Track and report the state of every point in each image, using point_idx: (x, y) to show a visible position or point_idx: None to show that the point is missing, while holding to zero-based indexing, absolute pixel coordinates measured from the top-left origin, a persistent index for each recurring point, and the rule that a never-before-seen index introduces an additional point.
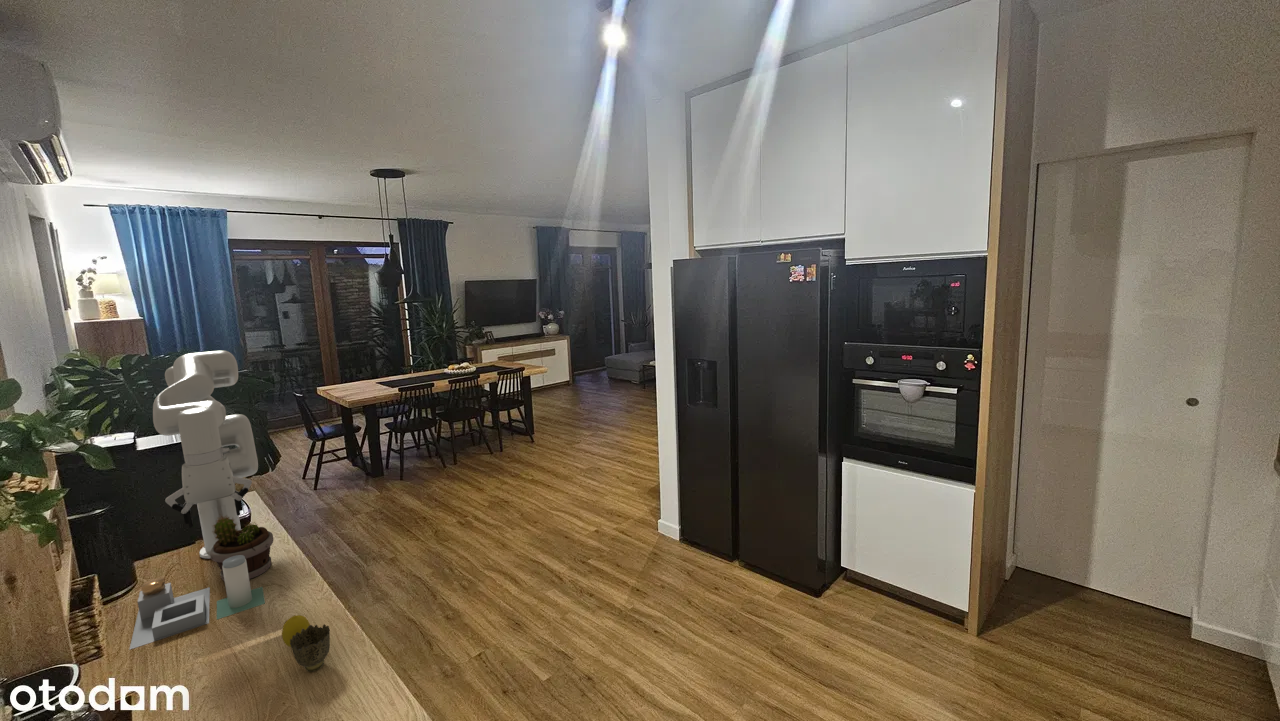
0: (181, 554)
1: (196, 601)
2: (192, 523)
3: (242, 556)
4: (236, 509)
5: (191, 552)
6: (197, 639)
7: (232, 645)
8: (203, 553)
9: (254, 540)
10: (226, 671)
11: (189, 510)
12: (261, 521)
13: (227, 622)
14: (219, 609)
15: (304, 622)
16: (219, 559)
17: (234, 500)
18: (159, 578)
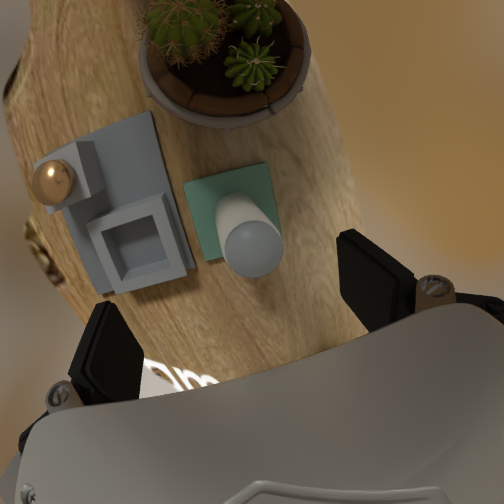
0: None
1: (156, 224)
2: (139, 360)
3: (276, 239)
4: (361, 319)
5: None
6: (188, 294)
7: (248, 327)
8: None
9: (279, 88)
10: (253, 370)
11: (102, 394)
12: None
13: (223, 262)
14: (199, 225)
15: None
16: (175, 115)
17: (389, 322)
18: (53, 163)
